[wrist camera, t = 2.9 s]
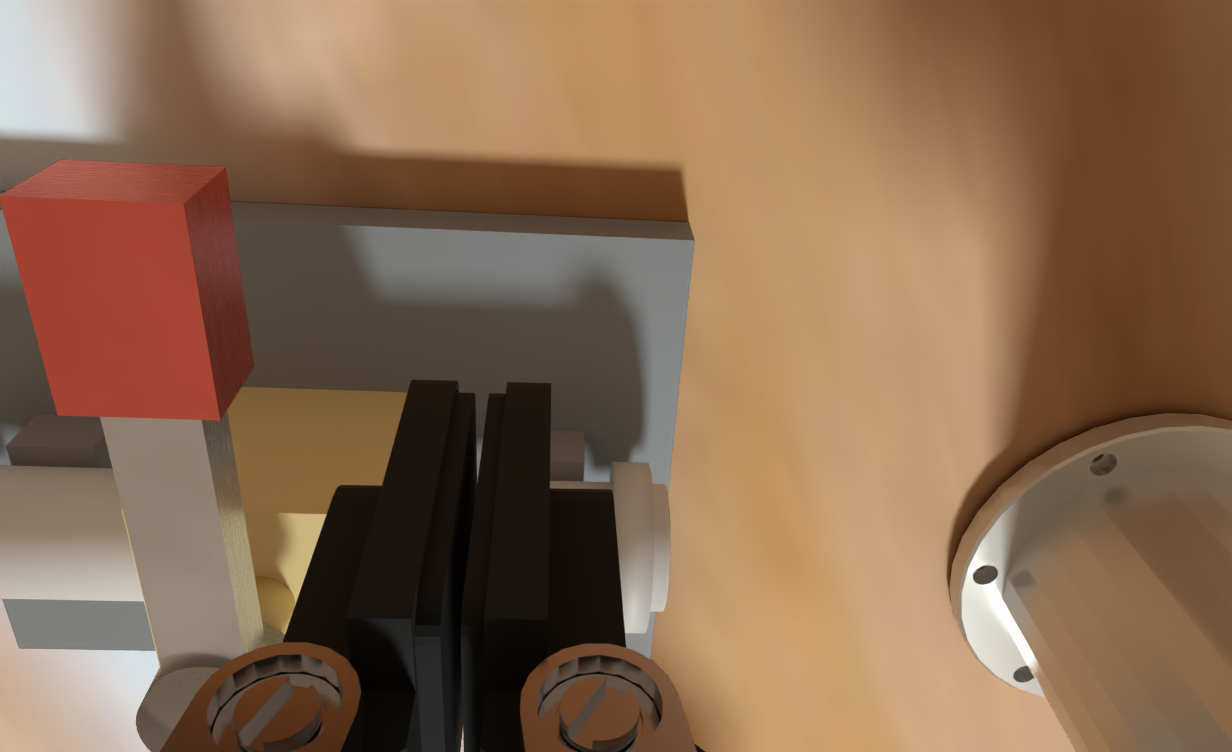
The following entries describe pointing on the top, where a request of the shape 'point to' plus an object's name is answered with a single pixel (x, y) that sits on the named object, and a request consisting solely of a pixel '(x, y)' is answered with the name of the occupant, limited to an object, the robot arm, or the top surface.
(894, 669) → the top surface
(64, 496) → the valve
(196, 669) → the lever
